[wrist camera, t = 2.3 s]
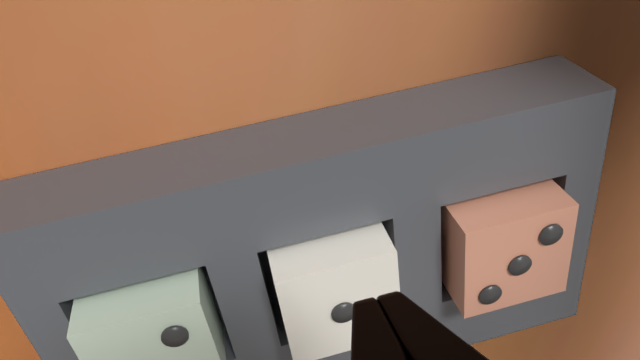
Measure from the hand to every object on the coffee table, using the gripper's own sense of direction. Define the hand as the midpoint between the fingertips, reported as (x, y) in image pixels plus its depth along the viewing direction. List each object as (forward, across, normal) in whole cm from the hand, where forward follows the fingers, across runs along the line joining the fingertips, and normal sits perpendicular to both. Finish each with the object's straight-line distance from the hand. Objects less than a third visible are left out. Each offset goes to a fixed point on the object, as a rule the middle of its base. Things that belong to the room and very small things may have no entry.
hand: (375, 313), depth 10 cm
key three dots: (+8, -6, +6) cm, 12 cm away
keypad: (+10, 0, +6) cm, 12 cm away
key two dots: (+8, +6, +6) cm, 12 cm away
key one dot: (+8, 0, +6) cm, 10 cm away
